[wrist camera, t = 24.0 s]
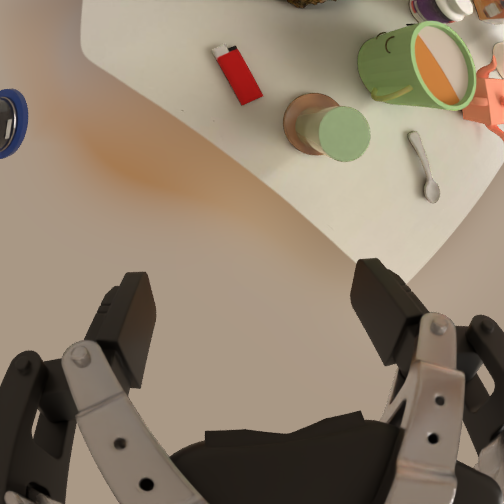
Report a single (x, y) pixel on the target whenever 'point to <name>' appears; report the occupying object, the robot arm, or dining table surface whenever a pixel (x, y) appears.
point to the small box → (490, 11)
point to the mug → (419, 67)
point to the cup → (499, 57)
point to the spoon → (425, 168)
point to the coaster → (294, 112)
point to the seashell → (305, 2)
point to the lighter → (237, 73)
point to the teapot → (487, 100)
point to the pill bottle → (440, 10)
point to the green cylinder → (334, 131)
